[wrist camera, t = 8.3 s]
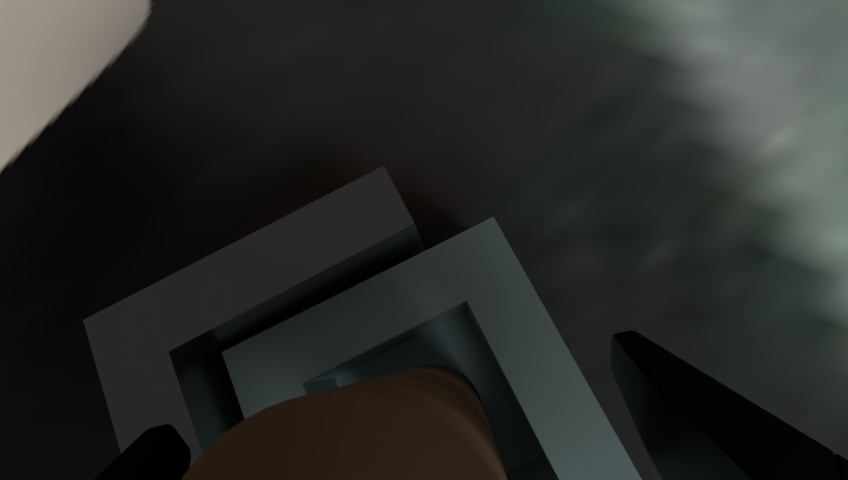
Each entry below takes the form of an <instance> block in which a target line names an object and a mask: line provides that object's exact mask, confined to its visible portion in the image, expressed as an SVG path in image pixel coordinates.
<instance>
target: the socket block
mask: <svg viewBox="0 0 848 480" xmlns="http://www.w3.org/2000/svg"><path fill="white" fill-rule="evenodd" d="M222 355H223V358H224V361H225V364H226V366H227V369H228V372H229V375H230V378H231V381H232V384H233V387H234V390H235V393H236V395H237V398H238V401H239V404H240V407H241V410H242V413H243V416H244V419H246V418H248V417H250V416H252V415H254V414H256V413H258V412H259V411H261V410H263V409H265V408H267V407H270V406H273V405H275V404H278V403H281V402H283V401H286V400H289V399H293V398H297V397H301V396H305V395H309V394H313V393H317V392H321V391H325V390H329V389H333V388H337V387H341V386H345V385H349V384H353V383H357V382H361V381H365V380H369V379H373V378H377V377H381V376H385V375H389V374H393V373H397V372H401V371H405V370H409V369H413V368H417V367H421V366H425V365H442V366H447V367H450V368H453V369H455V370H457V371H458V372H460V373H461V374H463V375H464V376H465V377H466V378H468V379H469V381H470V382H471V383H472V384H473V385H474V387H475V388H476V390H477V392H478V394H479V396H480V399H481V401H482V404H483V407H484V410H485V413H486V416H487V419H488V422H489V425H490V428H491V431H492V434H493V437H494V440H495V443H496V446H497V449H498V452H499V455H500V458H501V461H502V464H503V467H504V470H505V473H506V476H507V479H508V480H642V479H641V478H640V476H639V474H638V472H637V470H636V469H635V467H634V465H633V463H632V462H631V460H630V458H629V456H628V454H627V453H626V451H625V449H624V447H623V446H622V444H621V442H620V440H619V438H618V437H617V435H616V433H615V431H614V430H613V428H612V426H611V424H610V423H609V421H608V419H607V417H606V415H605V414H604V412H603V410H602V408H601V407H600V405H599V403H598V401H597V399H596V398H595V396H594V394H593V392H592V391H591V389H590V387H589V385H588V383H587V382H586V380H585V378H584V376H583V375H582V373H581V371H580V369H579V368H578V366H577V364H576V362H575V360H574V359H573V357H572V355H571V353H570V352H569V350H568V348H567V346H566V344H565V343H564V341H563V339H562V337H561V336H560V334H559V332H558V330H557V329H556V327H555V325H554V323H553V321H552V320H551V318H550V316H549V314H548V313H547V311H546V309H545V307H544V305H543V304H542V302H541V300H540V298H539V297H538V295H537V293H536V291H535V289H534V288H533V286H532V284H531V282H530V281H529V279H528V277H527V275H526V274H525V272H524V270H523V268H522V266H521V265H520V263H519V261H518V259H517V258H516V256H515V254H514V252H513V250H512V249H511V247H510V245H509V243H508V242H507V240H506V238H505V236H504V234H503V233H502V231H501V229H500V227H499V226H498V224H497V222H496V220H495V219H494V217H492V218H490V219H488V220H486V221H484V222H482V223H480V224H478V225H476V226H474V227H472V228H470V229H468V230H466V231H464V232H462V233H460V234H458V235H456V236H454V237H452V238H450V239H448V240H446V241H444V242H442V243H440V244H438V245H436V246H434V247H432V248H430V249H428V250H426V251H424V252H422V253H420V254H418V255H416V256H414V257H412V258H410V259H408V260H406V261H404V262H402V263H400V264H398V265H396V266H394V267H392V268H389V269H387V270H385V271H383V272H381V273H379V274H377V275H375V276H373V277H371V278H369V279H367V280H365V281H363V282H361V283H359V284H357V285H355V286H353V287H351V288H349V289H347V290H345V291H343V292H341V293H339V294H337V295H335V296H333V297H331V298H329V299H327V300H325V301H323V302H321V303H319V304H317V305H315V306H313V307H311V308H309V309H307V310H305V311H303V312H301V313H299V314H297V315H295V316H293V317H291V318H289V319H287V320H285V321H283V322H281V323H279V324H277V325H275V326H273V327H271V328H269V329H267V330H265V331H263V332H261V333H259V334H257V335H255V336H253V337H251V338H249V339H247V340H245V341H243V342H241V343H239V344H237V345H235V346H233V347H231V348H229V349H227V350H225V351H223V352H222Z"/></svg>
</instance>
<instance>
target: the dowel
mask: <svg viewBox="0 0 848 480" xmlns="http://www.w3.org/2000/svg"><path fill="white" fill-rule="evenodd" d="M181 480H508V479H507V476H506V473H505V470H504V467H503V464H502V461H501V458H500V455H499V452H498V449H497V446H496V443H495V440H494V437H493V434H492V431H491V428H490V425H489V422H488V419H487V416H486V413H485V410H484V407H483V404H482V401H481V399H480V396H479V394H478V392H477V390H476V388H475V387H474V385H473V384H472V383H471V382H470V381H469V379H468V378H466V377H465V376H464V375H463V374H461V373H460V372H458V371H457V370H455V369H453V368H450V367H447V366H442V365H425V366H421V367H417V368H413V369H409V370H405V371H401V372H397V373H393V374H389V375H385V376H381V377H377V378H373V379H369V380H365V381H361V382H357V383H353V384H349V385H345V386H341V387H337V388H333V389H329V390H325V391H321V392H317V393H313V394H309V395H305V396H301V397H297V398H293V399H289V400H286V401H283V402H281V403H278V404H275V405H273V406H270V407H267V408H265V409H263V410H261V411H259V412H258V413H256V414H254V415H252V416H250V417H248V418H246V419H244V420H243V421H241V422H240V423H239V424H237V425H236V426H234V427H233V428H232V429H230V430H229V431H227V432H226V433H224V434H223V435H222V436H221V437H220V438H219V439H218V440H216V441H215V442H214V443H213V444H212V445H211V446H210V447H209V448H208V449H207V450H205V451H204V452H203V453H202V455H201V456H200V457H199V458H198V459H197V460H196V462H195V463H194V464H193V465H192V466H191V467H190V468H189V470H188V471H187V472H186V473H185V475H184V476H183V478H182V479H181Z"/></svg>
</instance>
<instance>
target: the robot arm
mask: <svg viewBox="0 0 848 480" xmlns="http://www.w3.org/2000/svg"><path fill="white" fill-rule="evenodd" d="M611 367H612V371H613V375H614V377H615V379H616V382H617V384H618V386H619V389H620V391H621V393H622V396H623V398H624V400H625V403H626V405H627V407H628V410H629V412H630V414H631V416H632V419H633V421H634V423H635V426H636V428H637V430H638V433H639V435H640V437H641V439H642V442H643V444H644V446H645V448H646V450H647V452H648V454H649V456H650V458H651V460H652V462H653V463H654V465H655V467H656V469H657V470H658V472H659V474H660V476H661V477H662V479H663V480H848V459H846V458H844V457H843V456H841V455H839V454H836V455H834V452H833V451H832V450H831V449H829V448H828V447H826V446H824V445H823V444H821V443H819V442H818V441H816V440H814V439H813V438H811V437H809V436H808V435H806V434H804V433H803V432H801V431H799V430H798V429H796V428H795V427H793V426H791V425H790V424H788V423H786V422H785V421H783V420H781V419H780V418H778V417H776V416H775V415H773V414H771V413H770V412H768V411H766V410H765V409H763V408H761V407H760V406H758V405H757V404H755V403H753V402H752V401H750V400H748V399H747V398H745V397H743V396H742V395H740V394H738V393H737V392H735V391H733V390H732V389H730V388H728V387H727V386H725V385H724V384H722V383H720V382H719V381H717V380H715V379H714V378H712V377H710V376H709V375H707V374H705V373H704V372H702V371H700V370H699V369H697V368H695V367H694V366H692V365H690V364H689V363H687V362H686V361H684V360H682V359H681V358H679V357H677V356H676V355H674V354H672V353H671V352H669V351H667V350H666V349H664V348H662V347H661V346H659V345H657V344H656V343H654V342H653V341H651V340H649V339H648V338H646V337H644V336H643V335H641V334H639V333H638V332H635V331H626V332H621V333H616V334H614V335H613V336H612V339H611ZM190 463H191V451H190V448H189V446H188V445H187V443H186V442H185V441H184V439H183V438H182V437H181V435H180V434H179V433H178V431H177V430H176V429H175V427H174V426H172V425H170V424H164V425H159V426H154V427H151V428H148V429H147V430H146V431H144V432H143V433H142V434H141V435H140V436H139V437H138V438H137V439H136V440H135V441H134V442H133V443H132V444H131V445H130V446H129V447H128V448H127V449H125V450H124V451H123V452H122V453H121V454H120V455H119V456H118V457H117V458H116V459H115V460H114V461H113V462H112V463H111V464H110V465H109V466H108V467H106V468H105V469H104V470H103V471H102V472H101V473H100V474H99V475H98V476H97V477H96V478H95V479H94V480H181V479H182V478H183V476H184V475H185V473H186V472H187V471H188V470H189V468H190Z"/></svg>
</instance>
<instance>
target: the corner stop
mask: <svg viewBox="0 0 848 480" xmlns="http://www.w3.org/2000/svg"><path fill="white" fill-rule="evenodd" d="M424 251H425V248H424V245H423V243H422V240H421V238H420V235H419V233H418V230H417V228H416V225H415V223H414V221H413V219H412V217H411V215H410V214H409V212H408V210H407V208H406V206H405V204H404V202H403V200H402V199H401V197H400V195H399V193H398V191H397V189H396V187H395V185H394V184H393V182H392V180H391V178H390V176H389V174H388V172H387V170H386V169H385V167H384V166H382V167H380V168H378V169H376V170H374V171H372V172H370V173H368V174H366V175H364V176H362V177H360V178H359V179H357V180H355V181H353V182H351V183H349V184H347V185H345V186H343V187H341V188H339V189H337V190H335V191H333V192H331V193H329V194H327V195H325V196H323V197H322V198H320V199H318V200H316V201H314V202H312V203H310V204H308V205H306V206H304V207H302V208H300V209H298V210H296V211H294V212H292V213H290V214H288V215H287V216H285V217H283V218H281V219H279V220H277V221H275V222H273V223H271V224H269V225H267V226H265V227H263V228H261V229H259V230H257V231H255V232H253V233H252V234H250V235H248V236H246V237H244V238H242V239H240V240H238V241H236V242H234V243H232V244H230V245H228V246H226V247H224V248H222V249H220V250H218V251H216V252H215V253H213V254H211V255H209V256H207V257H205V258H203V259H201V260H199V261H197V262H195V263H193V264H191V265H189V266H187V267H185V268H183V269H181V270H180V271H178V272H176V273H174V274H172V275H170V276H168V277H166V278H164V279H162V280H160V281H158V282H156V283H154V284H152V285H150V286H148V287H146V288H145V289H143V290H141V291H139V292H137V293H135V294H133V295H131V296H129V297H127V298H125V299H123V300H121V301H119V302H117V303H115V304H113V305H111V306H110V307H108V308H106V309H104V310H102V311H100V312H98V313H96V314H94V315H92V316H90V317H88V318H86V319H84V320H83V322H84V325H85V329H86V332H87V336H88V339H89V343H90V346H91V350H92V353H93V357H94V360H95V364H96V367H97V371H98V374H99V378H100V381H101V385H102V388H103V392H104V395H105V399H106V402H107V406H108V409H109V413H110V416H111V420H112V423H113V427H114V430H115V434H116V437H117V441H118V444H119V448H120V452H121V453H122V452H123V451H124V450H125V449H127V448H128V447H129V446H130V445H131V444H132V443H133V442H134V441H135V440H136V439H137V438H138V437H139V436H140V435H141V434H142V433H143V432H144V431H146V430H147V429H148V428H151V427H154V426H159V425H164V424H170V425H172V426H174V427H175V429H176V430H177V431H178V433H179V434H180V435H181V437H182V438H183V439H184V441H185V442H186V443H187V445H188V446H189V448H190V451H191V463H190V467H191V466H192V465H193V464H194V463H195V462H196V460H197V459H198V458H199V457H200V456H201V455H202V453H203V452H204V451H205V450H207V449H208V448H209V447H210V446H211V445H212V444H213V443H214V442H215V441H216V440H218V439H219V438H220V437H221V436H222V435H223V434H224V433H226V432H227V431H229V430H230V429H232V428H233V427H234V426H236V425H237V424H239V423H240V422H241V421H243V420H244V416H243V413H242V410H241V407H240V404H239V401H238V398H237V395H236V393H235V390H234V387H233V384H232V381H231V378H230V375H229V372H228V369H227V366H226V364H225V361H224V358H223V355H222V352H223V351H225V350H227V349H229V348H231V347H233V346H235V345H237V344H239V343H241V342H243V341H245V340H247V339H249V338H251V337H253V336H255V335H257V334H259V333H261V332H263V331H265V330H267V329H269V328H271V327H273V326H275V325H277V324H279V323H281V322H283V321H285V320H287V319H289V318H291V317H293V316H295V315H297V314H299V313H301V312H303V311H305V310H307V309H309V308H311V307H313V306H315V305H317V304H319V303H321V302H323V301H325V300H327V299H329V298H331V297H333V296H335V295H337V294H339V293H341V292H343V291H345V290H347V289H349V288H351V287H353V286H355V285H357V284H359V283H361V282H363V281H365V280H367V279H369V278H371V277H373V276H375V275H377V274H379V273H381V272H383V271H385V270H387V269H389V268H392V267H394V266H396V265H398V264H400V263H402V262H404V261H406V260H408V259H410V258H412V257H414V256H416V255H418V254H420V253H422V252H424Z"/></svg>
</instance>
